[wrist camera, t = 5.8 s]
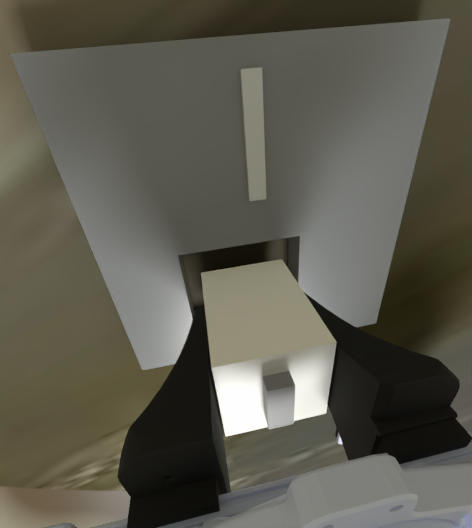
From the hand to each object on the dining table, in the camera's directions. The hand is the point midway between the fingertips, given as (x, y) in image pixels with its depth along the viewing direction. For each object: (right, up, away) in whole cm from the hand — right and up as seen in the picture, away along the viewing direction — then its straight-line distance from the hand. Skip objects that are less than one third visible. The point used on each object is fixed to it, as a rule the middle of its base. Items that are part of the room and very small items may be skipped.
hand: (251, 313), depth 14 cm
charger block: (0, +1, +1) cm, 2 cm away
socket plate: (0, +5, +1) cm, 5 cm away
